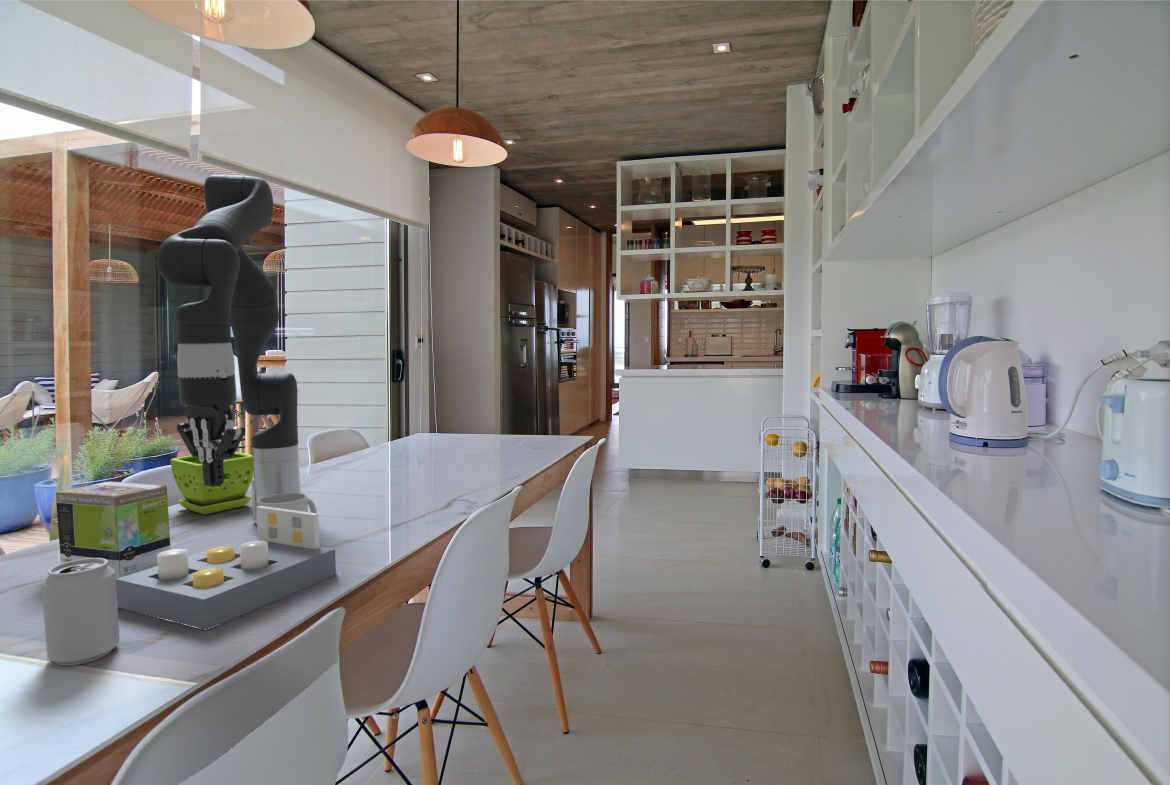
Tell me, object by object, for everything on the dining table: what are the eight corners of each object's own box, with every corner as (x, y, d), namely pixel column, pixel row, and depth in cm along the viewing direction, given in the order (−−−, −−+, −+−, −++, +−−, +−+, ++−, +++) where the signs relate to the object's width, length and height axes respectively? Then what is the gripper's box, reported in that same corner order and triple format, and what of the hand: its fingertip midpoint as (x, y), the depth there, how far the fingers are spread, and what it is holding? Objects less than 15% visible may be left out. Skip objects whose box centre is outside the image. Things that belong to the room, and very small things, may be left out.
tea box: (174, 563, 121) (169, 483, 120) (119, 582, 111) (113, 496, 110) (115, 555, 126) (110, 478, 124) (58, 573, 116) (52, 490, 115)
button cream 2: (235, 577, 105) (234, 546, 105) (257, 568, 109) (255, 539, 109) (253, 580, 104) (251, 549, 103) (274, 572, 107) (273, 542, 107)
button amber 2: (188, 607, 98) (186, 575, 98) (213, 598, 102) (211, 566, 101) (206, 612, 97) (204, 579, 96) (231, 602, 100) (229, 570, 100)
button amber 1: (202, 582, 109) (201, 552, 108) (225, 574, 112) (223, 545, 112) (219, 585, 107) (217, 555, 107) (241, 577, 111) (239, 548, 110)
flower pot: (171, 510, 159) (168, 458, 158) (230, 498, 170) (227, 449, 169) (199, 518, 151) (196, 463, 150) (259, 505, 162) (256, 454, 161)
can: (73, 642, 89) (67, 555, 88) (132, 640, 90) (126, 553, 89) (32, 670, 82) (24, 575, 81) (96, 667, 82) (89, 573, 81)
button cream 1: (153, 586, 101) (151, 555, 101) (178, 578, 105) (176, 547, 105) (170, 590, 100) (168, 558, 99) (195, 581, 103) (193, 550, 103)
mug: (260, 558, 123) (257, 505, 122) (258, 544, 131) (256, 495, 130) (322, 549, 128) (320, 498, 127) (317, 536, 136) (315, 488, 135)
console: (117, 607, 101) (113, 540, 100) (254, 559, 122) (251, 503, 121) (205, 630, 92) (201, 557, 91) (336, 574, 114) (333, 514, 113)
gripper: (154, 373, 99) (162, 486, 101) (213, 376, 94) (221, 495, 96) (201, 370, 106) (208, 476, 108) (259, 372, 101) (265, 484, 103)
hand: (214, 485), depth 102 cm, fingers closed
